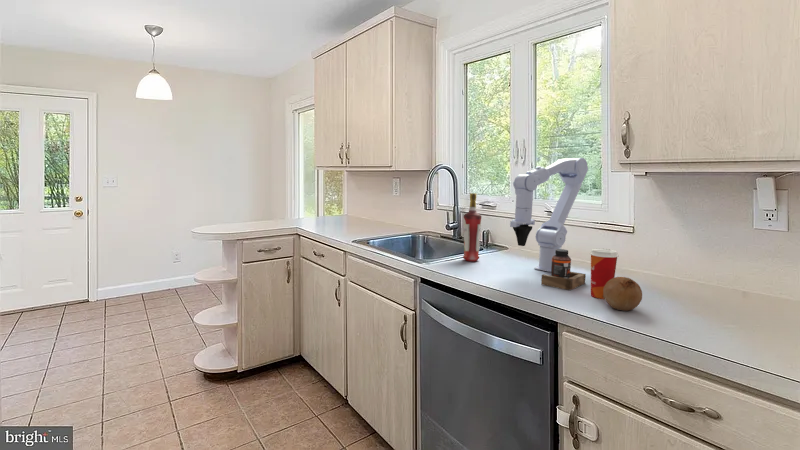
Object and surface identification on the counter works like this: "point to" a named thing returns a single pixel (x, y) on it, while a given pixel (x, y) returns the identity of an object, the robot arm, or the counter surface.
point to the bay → (564, 281)
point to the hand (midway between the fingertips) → (521, 245)
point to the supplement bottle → (561, 264)
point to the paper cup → (602, 270)
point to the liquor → (472, 231)
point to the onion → (622, 293)
